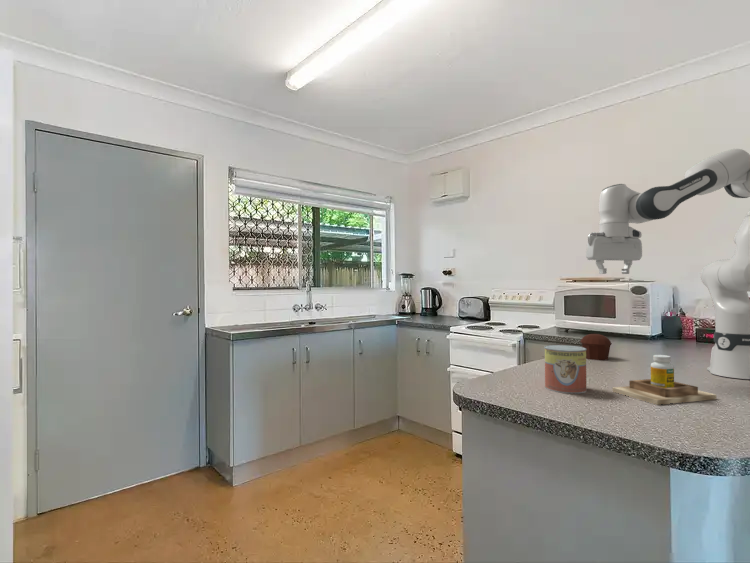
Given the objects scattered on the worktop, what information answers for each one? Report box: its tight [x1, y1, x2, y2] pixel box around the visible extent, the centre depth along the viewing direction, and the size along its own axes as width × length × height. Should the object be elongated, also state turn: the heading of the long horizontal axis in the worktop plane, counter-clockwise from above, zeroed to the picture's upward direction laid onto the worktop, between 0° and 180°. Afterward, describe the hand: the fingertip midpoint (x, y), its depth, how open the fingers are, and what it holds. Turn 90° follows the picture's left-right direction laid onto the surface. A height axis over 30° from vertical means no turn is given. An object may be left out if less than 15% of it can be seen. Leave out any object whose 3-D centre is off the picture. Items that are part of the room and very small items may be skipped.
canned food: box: [543, 344, 588, 394], centre depth 124 cm, size 11×11×12 cm
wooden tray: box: [611, 378, 718, 406], centre depth 116 cm, size 20×14×3 cm
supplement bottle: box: [650, 354, 675, 388], centre depth 116 cm, size 5×5×10 cm
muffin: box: [579, 333, 612, 361], centre depth 176 cm, size 12×11×10 cm
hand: (614, 273), depth 143 cm, fingers open, 8 cm apart
